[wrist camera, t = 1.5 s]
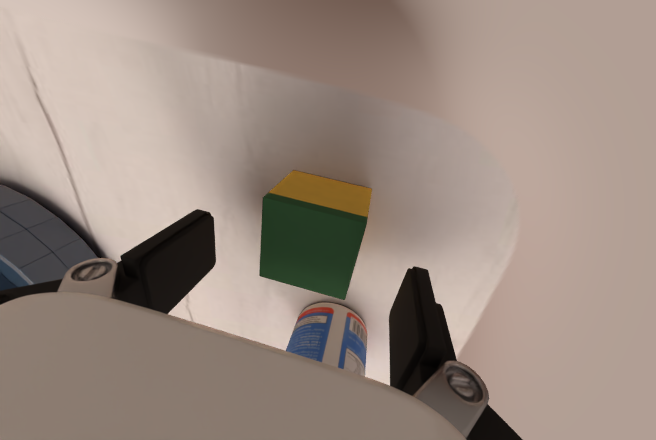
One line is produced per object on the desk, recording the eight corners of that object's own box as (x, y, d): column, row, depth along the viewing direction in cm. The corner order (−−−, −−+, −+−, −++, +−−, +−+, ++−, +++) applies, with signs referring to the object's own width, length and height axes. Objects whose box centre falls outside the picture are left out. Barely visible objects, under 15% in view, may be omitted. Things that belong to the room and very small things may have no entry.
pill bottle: (294, 336, 21) (230, 505, 12) (305, 290, 18) (234, 467, 10) (357, 357, 21) (336, 547, 12) (378, 314, 18) (370, 519, 9)
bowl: (-82, 155, 20) (-194, 172, 16) (95, 204, 19) (18, 235, 15) (11, 297, 28) (-50, 331, 24) (140, 340, 27) (97, 383, 23)
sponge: (293, 169, 14) (262, 196, 11) (372, 188, 14) (366, 223, 10) (286, 235, 16) (258, 276, 13) (354, 253, 16) (344, 300, 12)
